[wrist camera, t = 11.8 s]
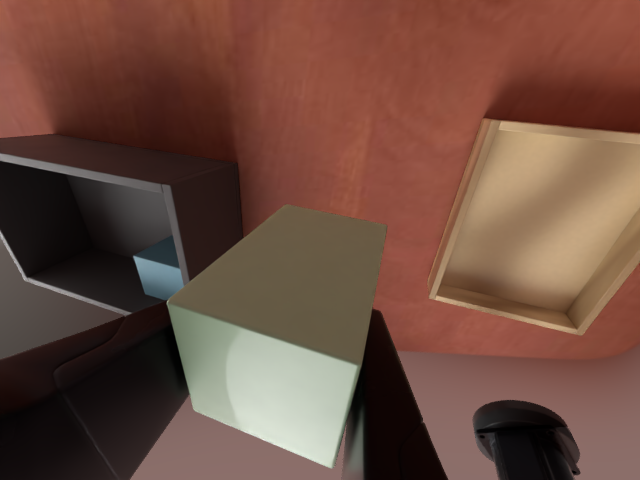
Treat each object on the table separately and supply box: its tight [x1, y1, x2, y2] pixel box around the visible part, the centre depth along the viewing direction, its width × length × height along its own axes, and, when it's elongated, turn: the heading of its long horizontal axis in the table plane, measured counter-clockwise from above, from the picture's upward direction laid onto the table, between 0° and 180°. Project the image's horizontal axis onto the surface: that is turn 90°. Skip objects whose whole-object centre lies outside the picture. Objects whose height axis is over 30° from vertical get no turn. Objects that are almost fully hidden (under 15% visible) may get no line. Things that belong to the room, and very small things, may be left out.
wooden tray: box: [427, 118, 640, 336], centre depth 15 cm, size 9×11×2 cm
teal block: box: [133, 235, 184, 300], centre depth 23 cm, size 4×4×6 cm
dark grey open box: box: [0, 134, 243, 316], centre depth 22 cm, size 19×12×6 cm, turn 85°
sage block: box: [167, 204, 387, 468], centre depth 8 cm, size 4×4×6 cm
